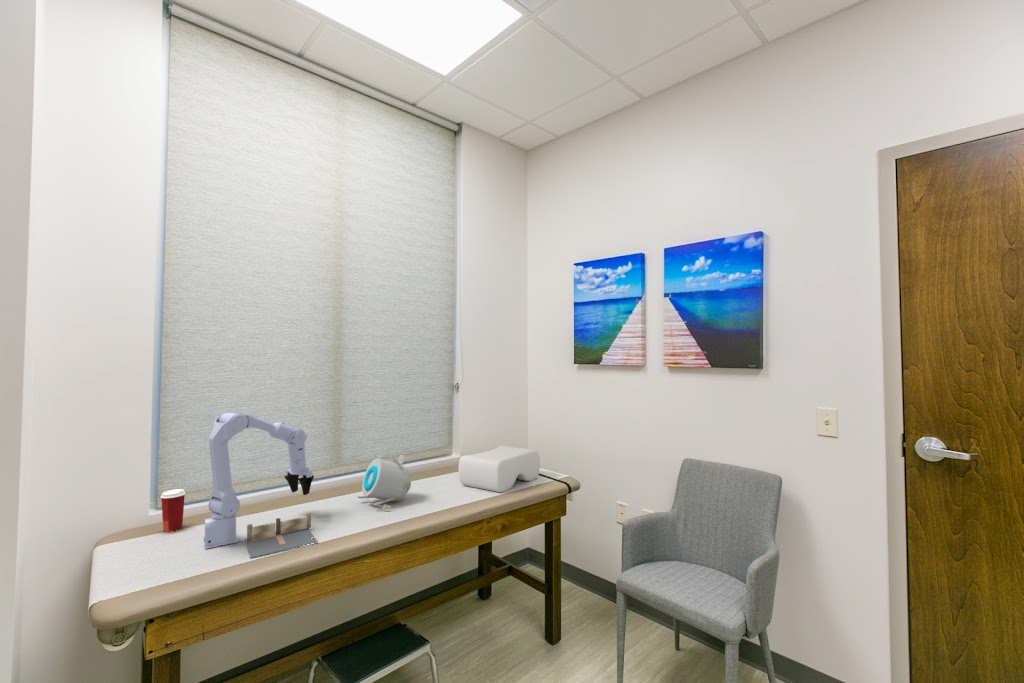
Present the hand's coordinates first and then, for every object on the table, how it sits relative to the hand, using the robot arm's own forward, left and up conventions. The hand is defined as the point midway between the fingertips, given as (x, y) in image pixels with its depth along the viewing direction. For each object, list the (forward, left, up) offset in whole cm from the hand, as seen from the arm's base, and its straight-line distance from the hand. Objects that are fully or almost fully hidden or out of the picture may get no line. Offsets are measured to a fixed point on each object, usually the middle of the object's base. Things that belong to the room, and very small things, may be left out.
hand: (300, 492), depth 182 cm
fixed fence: (-16, -17, -9) cm, 24 cm away
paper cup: (-41, +15, -10) cm, 45 cm away
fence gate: (-5, -17, -9) cm, 19 cm away
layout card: (-10, -23, -10) cm, 27 cm away
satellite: (+34, -3, -10) cm, 35 cm away
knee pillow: (+91, -7, -10) cm, 91 cm away
